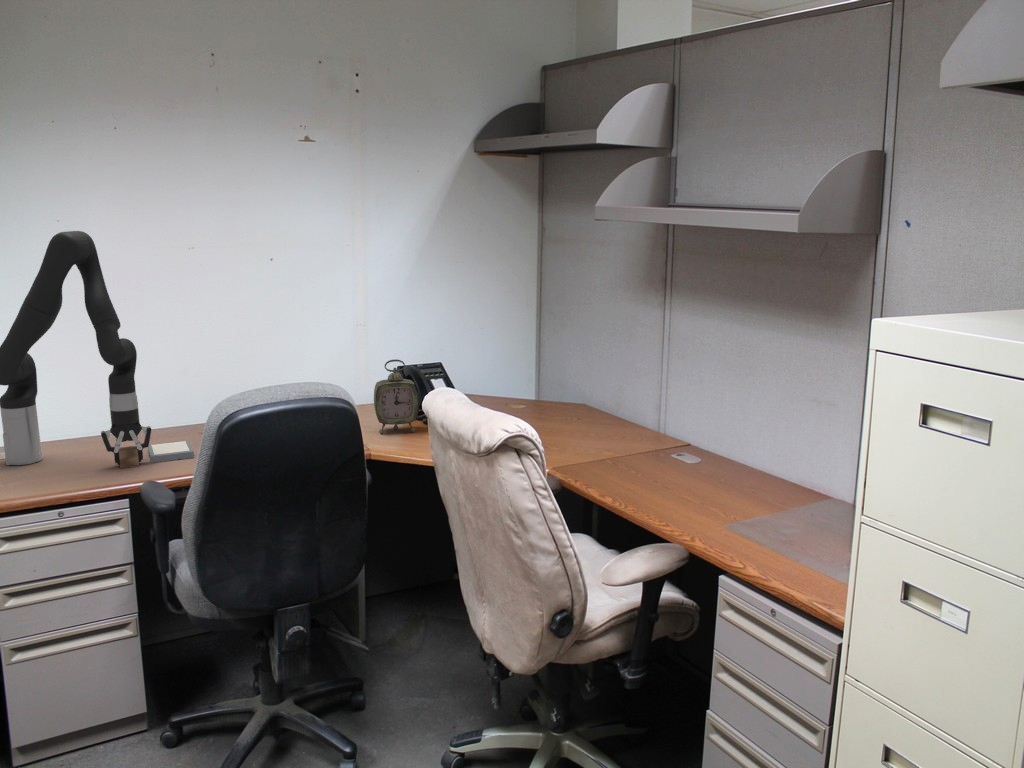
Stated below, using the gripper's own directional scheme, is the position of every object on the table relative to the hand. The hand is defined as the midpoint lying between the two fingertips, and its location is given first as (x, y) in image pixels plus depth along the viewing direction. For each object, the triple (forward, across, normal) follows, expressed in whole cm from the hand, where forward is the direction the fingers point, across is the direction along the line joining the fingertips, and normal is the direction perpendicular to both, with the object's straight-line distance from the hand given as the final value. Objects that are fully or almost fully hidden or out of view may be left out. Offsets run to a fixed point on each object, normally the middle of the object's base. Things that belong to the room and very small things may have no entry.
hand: (129, 462), depth 250 cm
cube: (+1, 0, 0) cm, 1 cm away
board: (+1, +12, +6) cm, 13 cm away
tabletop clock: (+1, +84, +2) cm, 84 cm away
